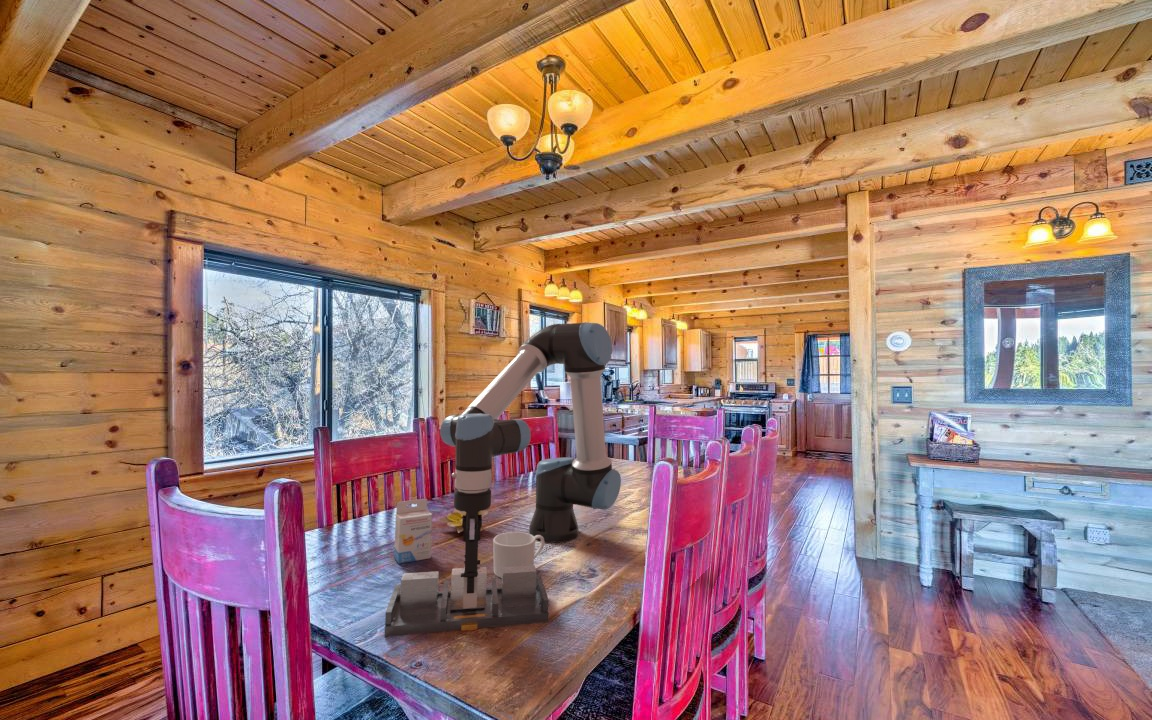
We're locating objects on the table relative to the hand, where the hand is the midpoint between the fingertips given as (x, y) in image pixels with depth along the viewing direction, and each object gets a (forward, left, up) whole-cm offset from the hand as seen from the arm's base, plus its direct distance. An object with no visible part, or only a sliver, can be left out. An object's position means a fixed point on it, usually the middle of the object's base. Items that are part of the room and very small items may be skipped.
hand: (469, 602), depth 99 cm
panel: (0, 0, -1) cm, 1 cm away
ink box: (+15, -31, -2) cm, 35 cm away
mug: (-12, -19, -2) cm, 23 cm away
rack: (0, 0, -2) cm, 2 cm away
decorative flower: (+3, -52, -2) cm, 52 cm away
